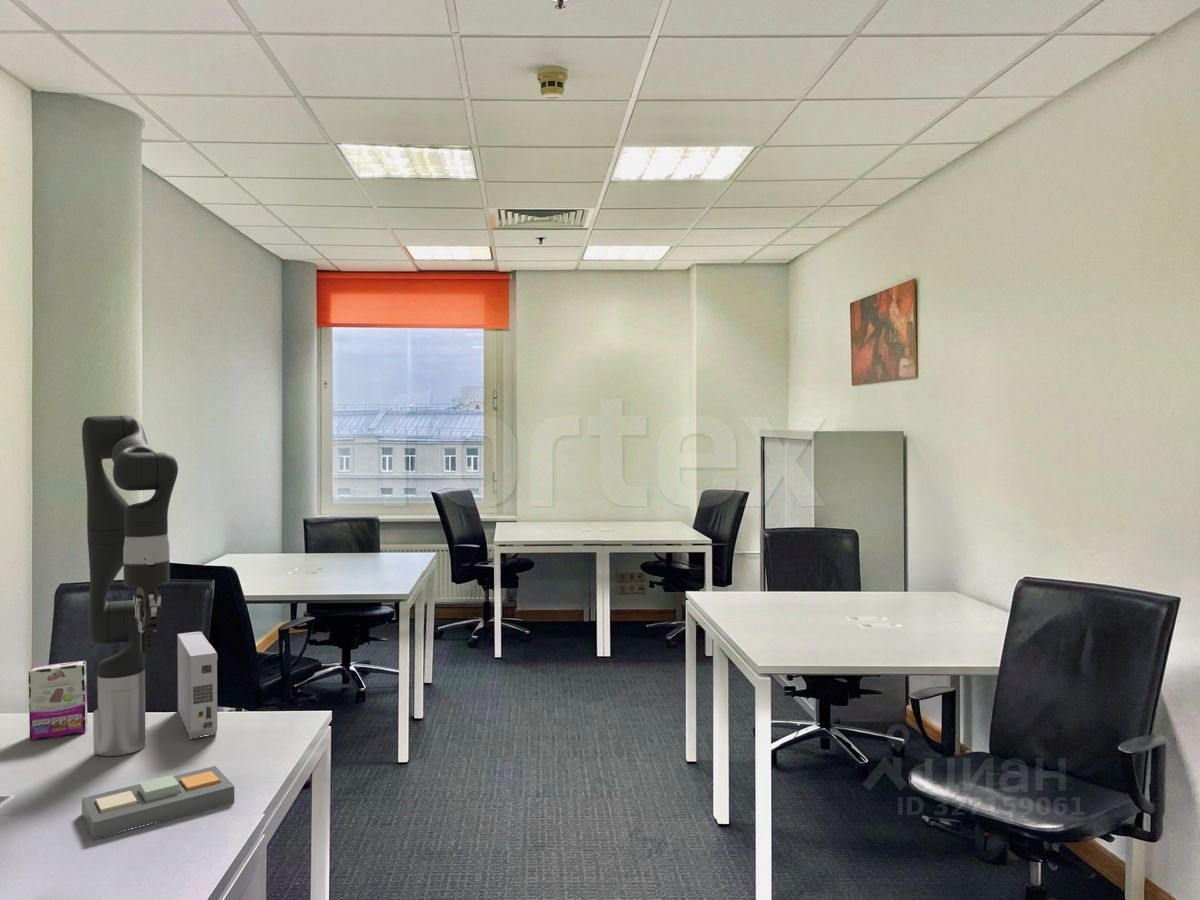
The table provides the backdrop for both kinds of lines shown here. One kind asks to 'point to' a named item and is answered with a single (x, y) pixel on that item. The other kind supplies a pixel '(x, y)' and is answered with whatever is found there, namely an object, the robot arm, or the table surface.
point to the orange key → (199, 781)
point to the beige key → (115, 801)
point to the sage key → (158, 788)
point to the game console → (197, 684)
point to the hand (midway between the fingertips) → (147, 651)
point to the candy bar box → (57, 700)
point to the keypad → (156, 805)
